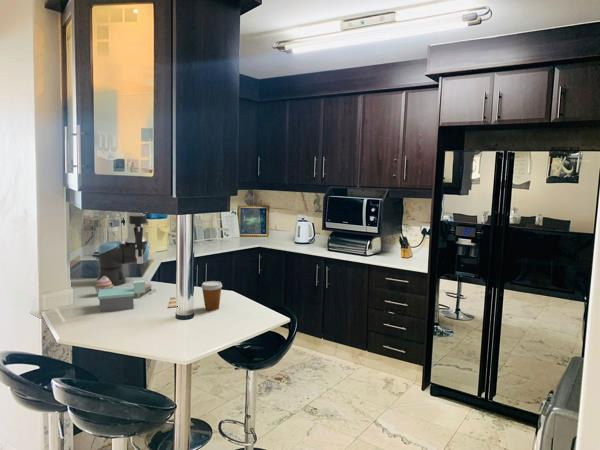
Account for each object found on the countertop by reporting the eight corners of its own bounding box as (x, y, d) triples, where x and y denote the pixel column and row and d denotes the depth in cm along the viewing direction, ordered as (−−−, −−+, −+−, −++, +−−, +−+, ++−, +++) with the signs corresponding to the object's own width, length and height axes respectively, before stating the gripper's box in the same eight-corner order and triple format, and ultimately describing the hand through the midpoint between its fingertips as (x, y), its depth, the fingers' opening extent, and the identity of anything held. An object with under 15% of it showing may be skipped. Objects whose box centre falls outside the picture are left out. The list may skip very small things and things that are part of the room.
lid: (99, 292, 211) (98, 281, 211) (144, 288, 219) (144, 278, 218) (98, 299, 199) (97, 288, 199) (145, 295, 207) (145, 284, 206)
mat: (141, 301, 221) (141, 300, 221) (179, 297, 228) (179, 296, 228) (143, 310, 207) (143, 309, 207) (183, 306, 213) (183, 305, 213)
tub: (101, 306, 212) (100, 292, 211) (132, 303, 217) (132, 289, 216) (100, 314, 201) (99, 299, 200) (133, 310, 206) (133, 295, 205)
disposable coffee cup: (216, 312, 204) (215, 286, 203) (197, 310, 207) (197, 284, 206) (226, 306, 213) (225, 281, 212) (208, 304, 216) (207, 280, 215)
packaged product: (141, 292, 222) (121, 291, 223) (141, 301, 222) (122, 301, 223) (156, 282, 239) (138, 282, 240) (156, 291, 240) (138, 291, 241)
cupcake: (95, 298, 225) (94, 278, 224) (93, 294, 234) (92, 275, 232) (115, 296, 230) (114, 276, 229) (113, 291, 238) (112, 273, 237)
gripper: (128, 213, 218) (130, 256, 220) (129, 217, 195) (131, 266, 197) (144, 212, 221) (146, 255, 223) (148, 217, 198) (149, 265, 200)
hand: (139, 260), depth 210 cm, fingers open, 13 cm apart
